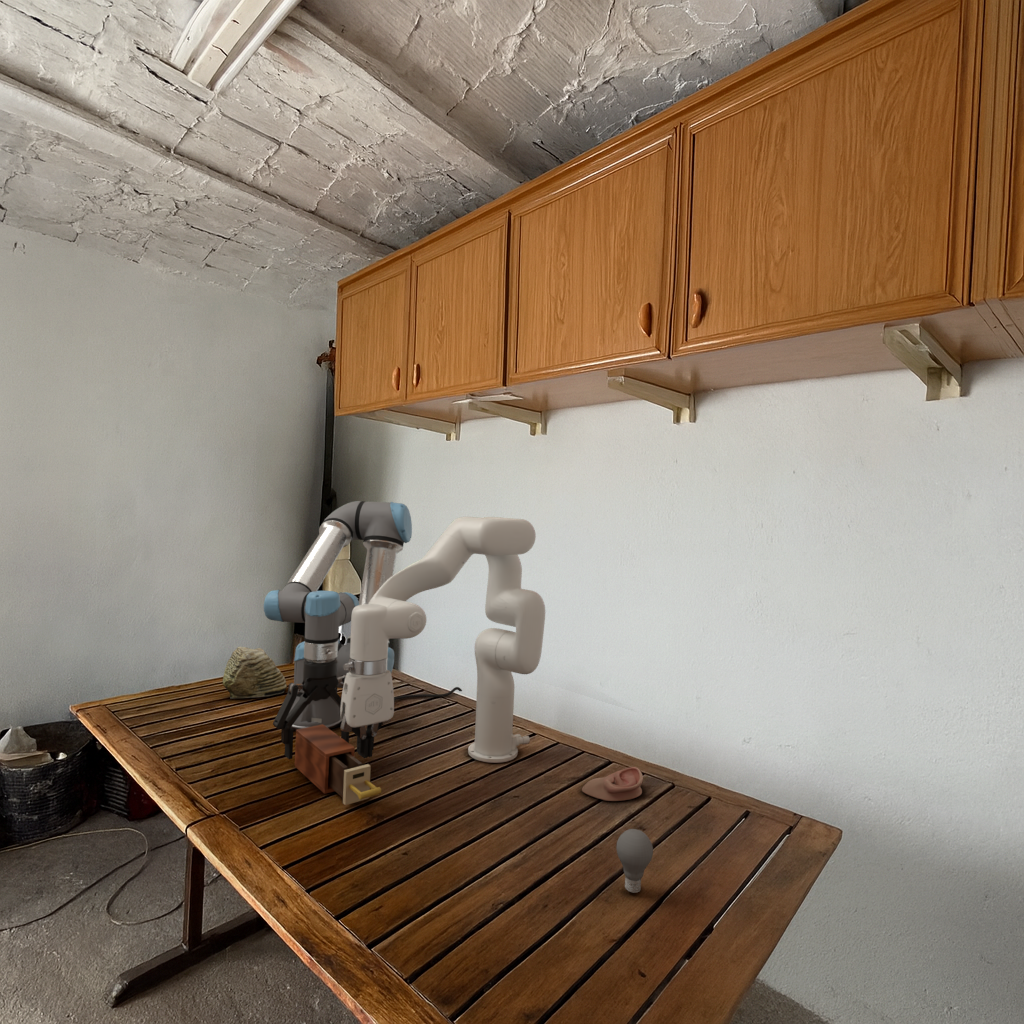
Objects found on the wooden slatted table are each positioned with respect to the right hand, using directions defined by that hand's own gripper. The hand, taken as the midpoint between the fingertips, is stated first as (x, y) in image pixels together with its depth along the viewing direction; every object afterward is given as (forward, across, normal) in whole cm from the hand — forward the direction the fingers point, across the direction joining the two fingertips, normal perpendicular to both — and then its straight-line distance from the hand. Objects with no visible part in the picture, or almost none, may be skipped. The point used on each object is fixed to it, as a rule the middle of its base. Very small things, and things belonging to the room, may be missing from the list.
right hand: (364, 755), depth 129 cm
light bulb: (+11, +23, -51) cm, 57 cm away
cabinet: (+11, 0, +19) cm, 22 cm away
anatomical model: (+11, +49, -24) cm, 56 cm away
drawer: (+10, 0, +7) cm, 13 cm away
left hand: (+7, 0, +23) cm, 24 cm away
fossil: (+11, +6, +85) cm, 86 cm away
